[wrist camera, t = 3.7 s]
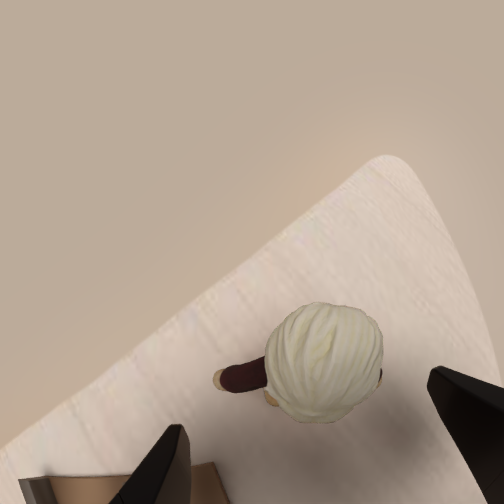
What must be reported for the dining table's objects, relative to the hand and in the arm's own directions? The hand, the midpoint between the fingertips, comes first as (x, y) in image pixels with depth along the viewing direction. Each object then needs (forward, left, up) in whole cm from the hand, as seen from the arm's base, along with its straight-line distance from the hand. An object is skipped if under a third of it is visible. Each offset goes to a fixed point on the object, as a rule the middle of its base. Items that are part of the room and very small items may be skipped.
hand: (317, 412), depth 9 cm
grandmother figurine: (0, -2, -9) cm, 10 cm away
